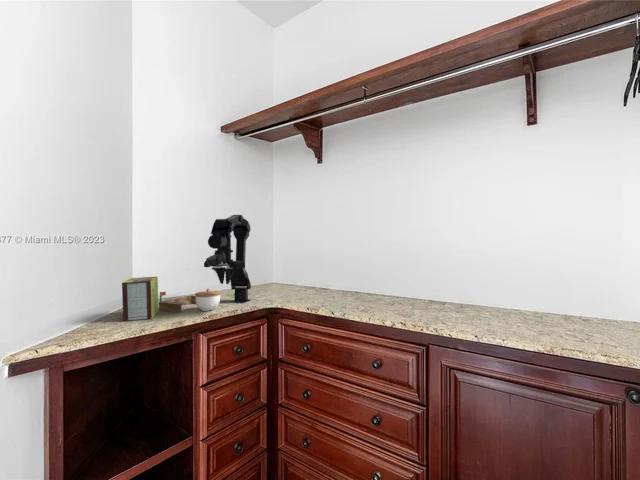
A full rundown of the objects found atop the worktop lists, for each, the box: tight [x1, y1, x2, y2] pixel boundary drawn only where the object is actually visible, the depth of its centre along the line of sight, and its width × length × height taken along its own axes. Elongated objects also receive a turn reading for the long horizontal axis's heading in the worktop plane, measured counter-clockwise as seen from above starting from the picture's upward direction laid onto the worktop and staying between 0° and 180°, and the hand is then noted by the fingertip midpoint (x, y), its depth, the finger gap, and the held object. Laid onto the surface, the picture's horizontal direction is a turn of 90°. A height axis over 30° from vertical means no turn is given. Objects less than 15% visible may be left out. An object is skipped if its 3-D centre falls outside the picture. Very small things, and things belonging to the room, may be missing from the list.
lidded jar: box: [194, 288, 221, 312], centre depth 145 cm, size 11×11×9 cm
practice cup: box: [158, 291, 196, 314], centre depth 152 cm, size 18×13×8 cm
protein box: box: [121, 276, 159, 322], centre depth 135 cm, size 10×15×16 cm
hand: (224, 284), depth 141 cm, fingers open, 3 cm apart
